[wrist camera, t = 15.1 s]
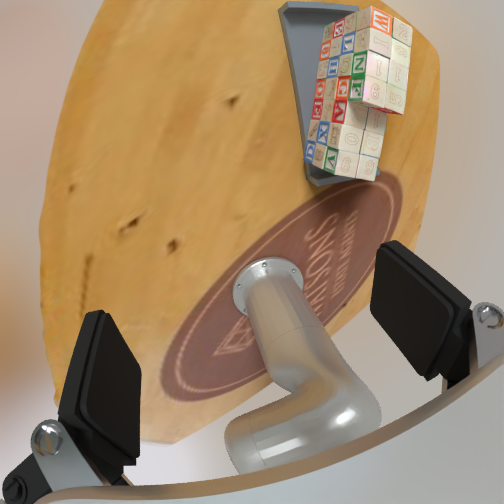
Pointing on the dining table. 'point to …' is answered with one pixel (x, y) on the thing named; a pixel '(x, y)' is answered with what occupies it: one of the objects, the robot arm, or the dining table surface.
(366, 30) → the stack of blocks
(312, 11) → the board
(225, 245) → the dining table surface
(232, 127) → the dining table surface
